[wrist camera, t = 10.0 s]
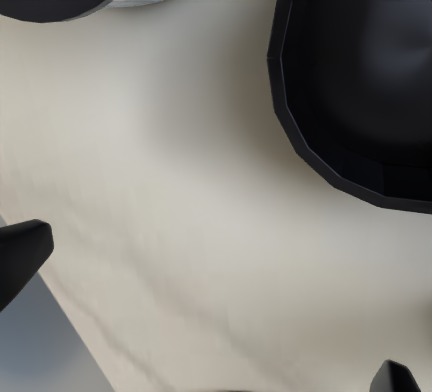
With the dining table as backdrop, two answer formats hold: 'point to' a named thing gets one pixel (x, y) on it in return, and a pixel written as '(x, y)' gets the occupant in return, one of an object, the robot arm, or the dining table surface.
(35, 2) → the lid
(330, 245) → the dining table surface
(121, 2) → the pot
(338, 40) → the black bowl
